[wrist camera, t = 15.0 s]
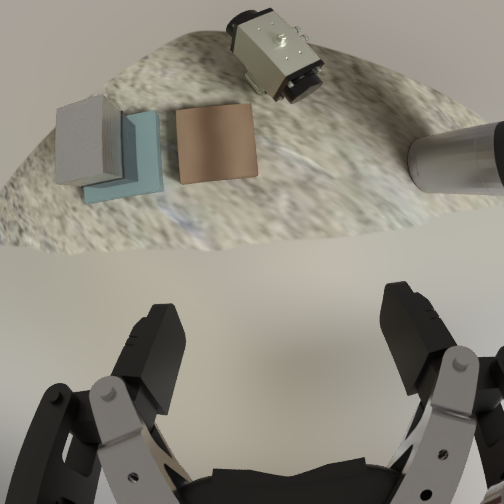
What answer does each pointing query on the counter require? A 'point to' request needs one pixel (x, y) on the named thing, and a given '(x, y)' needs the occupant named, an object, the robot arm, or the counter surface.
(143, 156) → the stand
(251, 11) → the pneumatic valve
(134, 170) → the block
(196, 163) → the stand
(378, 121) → the counter surface
